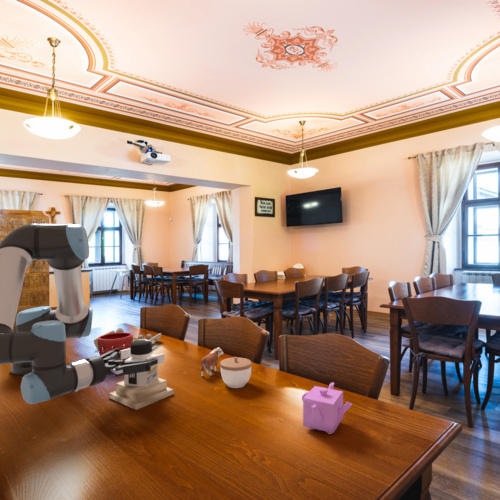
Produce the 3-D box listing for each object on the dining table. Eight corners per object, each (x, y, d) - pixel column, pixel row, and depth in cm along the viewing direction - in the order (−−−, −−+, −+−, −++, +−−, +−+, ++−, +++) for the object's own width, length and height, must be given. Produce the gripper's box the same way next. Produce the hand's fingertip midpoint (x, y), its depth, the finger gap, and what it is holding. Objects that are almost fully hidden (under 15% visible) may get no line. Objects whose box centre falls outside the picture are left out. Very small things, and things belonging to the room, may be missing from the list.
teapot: (342, 450, 84) (342, 408, 84) (289, 436, 90) (289, 397, 90) (359, 418, 100) (359, 382, 99) (313, 407, 106) (313, 374, 106)
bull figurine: (225, 367, 141) (225, 346, 141) (207, 379, 129) (207, 356, 129) (215, 365, 143) (215, 345, 143) (196, 377, 131) (196, 354, 130)
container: (146, 387, 110) (146, 344, 109) (123, 385, 111) (123, 343, 111) (158, 378, 117) (158, 338, 117) (136, 376, 119) (136, 337, 119)
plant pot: (138, 360, 150) (138, 331, 150) (124, 371, 137) (124, 339, 137) (108, 359, 151) (107, 330, 151) (91, 370, 138) (90, 339, 138)
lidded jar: (258, 384, 124) (258, 357, 124) (235, 393, 116) (235, 364, 116) (236, 376, 131) (235, 350, 131) (213, 385, 123) (213, 357, 123)
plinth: (108, 397, 113) (108, 383, 113) (146, 384, 124) (146, 370, 124) (136, 410, 105) (136, 394, 105) (173, 394, 116) (173, 380, 116)
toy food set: (93, 351, 164) (93, 334, 164) (113, 340, 183) (113, 325, 182) (146, 353, 161) (146, 335, 161) (161, 342, 179) (161, 326, 179)
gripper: (64, 376, 107) (127, 358, 124) (112, 397, 93) (176, 373, 110) (64, 351, 107) (127, 336, 124) (111, 368, 92) (176, 348, 110)
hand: (150, 353), depth 117 cm, fingers open, 12 cm apart
